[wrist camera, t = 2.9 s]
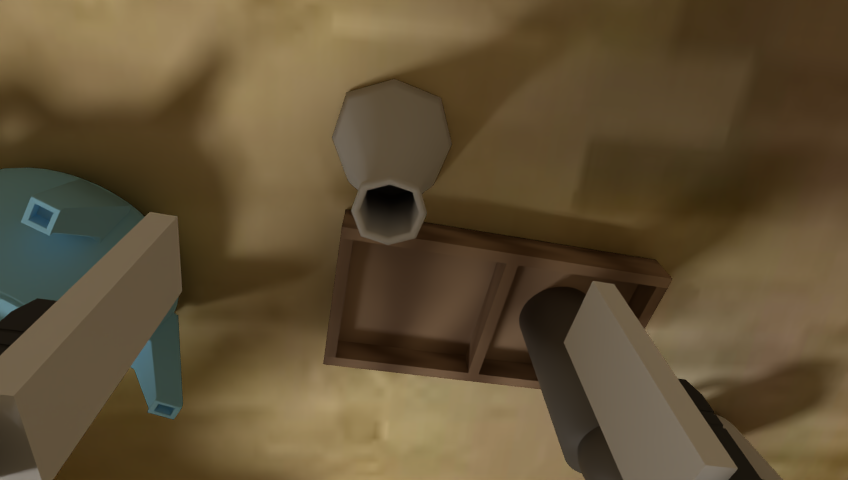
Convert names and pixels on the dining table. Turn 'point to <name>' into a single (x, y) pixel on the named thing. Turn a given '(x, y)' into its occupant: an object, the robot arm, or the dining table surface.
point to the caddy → (462, 300)
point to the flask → (391, 156)
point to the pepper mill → (565, 382)
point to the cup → (750, 452)
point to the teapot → (76, 260)
